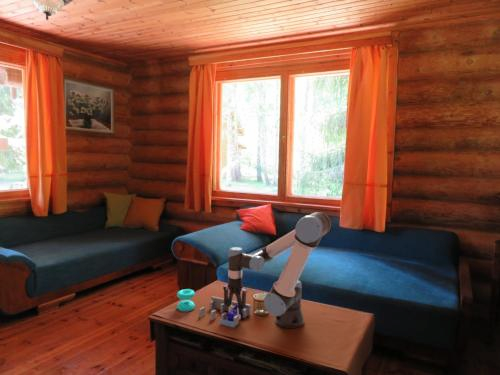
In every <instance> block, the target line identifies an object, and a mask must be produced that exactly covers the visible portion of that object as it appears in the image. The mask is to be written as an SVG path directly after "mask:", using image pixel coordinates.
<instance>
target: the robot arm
mask: <svg viewBox="0 0 500 375" xmlns="http://www.w3.org/2000/svg"><path fill="white" fill-rule="evenodd" d="M331 226H332V223H331V219H330V217H329V216H328V215H327V214H326V213H324V212H321V211H314V212H312V213H310V214H306V215H304V216H303V217H301V218H299V220H298V221H297V223H296V225H295V228H294V229H293V230H291V231H289V232H288V233H287V234H285V235H283V236H281V237H279V238H278V239H276V240H275V241H273V242H272V243H269V244H268V245H267V246H264V247H263V248H261V249H259V250H257V251H255V252H253V253H245V252H244V250H243V248H242V247H239V246H233V247H230V248H229V249H228V256H227V257H228V258H227V259H228V271H227V276H228V277H227V285H224V286H223V287H222V288H223V299H224V304H226V305H227V313H228V312H232V305H231V304H232V303H231V302H232V301H233V297H234V295H235V298H236V302H238V309H237V315H238V316H239V321H240V320H241V319H242V317H241V314H242V309H243V308H245V307H246V304H247V293H248V290H247V289H244V288H243V269H247V270H251V271H254V272H255V271H256V272H260V271H262V270H263V268H264V267H265V264H266V263H268V262H270V261H272V260H273V259H275V258H277V257H280V255H282V254H284V253H286V252H288V251H289V250H291V252H290V253H289V255H288V258H287V259H286V262H285V264H284V267H283V269H282V272H281V273H280V276H279V278H278V280H277V281H275V282H273V284H272V286H271V289H270V291H269V293H267V294H266V295H265V296H264V299H263V306H264V307H265V310H266V311H267V312H268V313H269V314H270V315H271V316H274V317H275V318H274V319H275V320H274V321H275V324H276V325H278V326H280V327H282V328H286V329H297V328H301V327H302V326H303V325H304V323H305V317H304V314H303V310H302V289H303V287H302V285H303V284H302V282H301V281H300V280H299V279H300V277H301V275H302V273H303V270H304V268H305V266H306V264H307V262H308V260H309V258H310V255H311V253H312V251H313V249H316V248H317V247H318V246H319V244H320V242H321V239H322V238H323V237H324V236H326V235H327V233H328V232H330V229H331Z"/></svg>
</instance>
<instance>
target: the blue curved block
mask: <svg viewBox="0 0 500 375" xmlns="http://www.w3.org/2000/svg"><path fill="white" fill-rule="evenodd" d="M237 309H238V305H237ZM237 309H235V310H234V311H233V313H232V312H228V311H227V312H226V313H227V320H229V321H232V322H233V318H234V317H235V316H236V315H237ZM241 318H243V309H242V314H241Z"/></svg>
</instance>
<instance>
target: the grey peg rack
mask: <svg viewBox="0 0 500 375" xmlns="http://www.w3.org/2000/svg"><path fill="white" fill-rule="evenodd" d="M210 299H211V301H209V311H210V321H214V320H215V319H216V318H217V310H216V309H219V310H220V313H221V316H220V317H221V318H220V319H219V324H220V325H223V326H227V327H231V328H235V327H237V326H238V325H239V321H240V320H239V316H238V315H236V316H235V317H234V318H233V322H232V321H229V320H227V313H228V311H227V305H226V304H224V297H223V298H222V297H218V296H215V295H212V296H211V298H210ZM231 303H232V304H231V305H232V313H233V311H234V310H235V309H237V305H238V302H237V300H232V302H231ZM251 308H252V305H251V304H250V303H249V304H248V303H246V307H245V308H243V316H242V319H246V318H247V317H250V316H251V313H252V312H251V311H252V309H251ZM225 311H227V312H225ZM205 314H206V312H205V306H202V307H200V308H199V309H198V317H199V318H203V317H204V316H205Z"/></svg>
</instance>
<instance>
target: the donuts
mask: <svg viewBox="0 0 500 375" xmlns="http://www.w3.org/2000/svg"><path fill="white" fill-rule="evenodd" d="M195 295H196V293H195V290H193V289H190V288H185V289H181V290H179V291H177V293H176V296H177V298H178V299H179V300H181V301H179V302H178V303H177V305H176V308H177V310H178V311H180V312H189V311H193V309H195V306H196V304H195V303H194V301H192V300H191V299H193V298H194V297H195Z"/></svg>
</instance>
